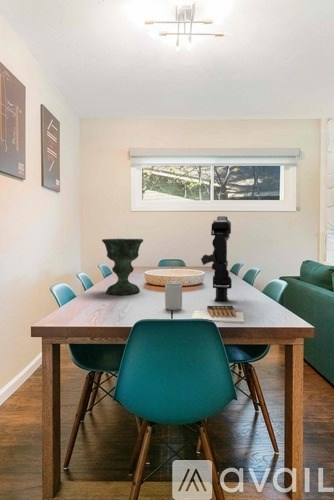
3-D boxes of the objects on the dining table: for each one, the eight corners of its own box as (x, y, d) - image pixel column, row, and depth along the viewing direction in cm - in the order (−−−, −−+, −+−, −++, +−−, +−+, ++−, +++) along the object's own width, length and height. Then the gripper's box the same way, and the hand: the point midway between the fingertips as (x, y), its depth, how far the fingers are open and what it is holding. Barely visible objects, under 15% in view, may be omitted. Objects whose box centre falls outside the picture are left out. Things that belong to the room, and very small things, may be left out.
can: (166, 311, 143) (166, 283, 142) (163, 307, 150) (163, 281, 149) (183, 310, 144) (183, 283, 143) (179, 306, 151) (179, 280, 151)
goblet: (100, 290, 193) (100, 238, 192) (138, 288, 200) (138, 238, 198) (105, 297, 172) (104, 239, 171) (147, 294, 179) (147, 239, 178)
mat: (195, 311, 142) (195, 310, 142) (243, 313, 138) (243, 312, 138) (190, 320, 128) (190, 318, 128) (243, 323, 124) (243, 321, 124)
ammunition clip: (207, 309, 142) (210, 318, 130) (207, 305, 141) (210, 313, 129) (232, 310, 141) (237, 318, 130) (232, 305, 141) (238, 313, 129)
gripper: (204, 247, 158) (203, 279, 159) (200, 249, 140) (199, 286, 141) (227, 247, 156) (227, 280, 157) (226, 249, 137) (226, 287, 138)
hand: (220, 283), depth 148 cm, fingers closed
